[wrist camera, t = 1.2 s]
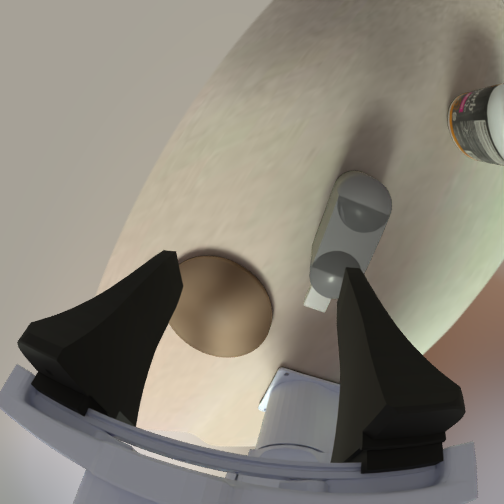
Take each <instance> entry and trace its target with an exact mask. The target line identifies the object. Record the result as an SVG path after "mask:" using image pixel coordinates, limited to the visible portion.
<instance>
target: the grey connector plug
mask: <svg viewBox="0 0 504 504" xmlns="http://www.w3.org/2000/svg"><path fill="white" fill-rule="evenodd" d="M391 210H392V200H391V196H390V194H389V192H388V190H387V188H386V187H385V186H384V185H383V184H382V183H381V182H379V181H378V180H376V179H374V178H373V177H371V176H369V175H367V174H365V173H363V172H361V171H348V172H346V173H344V174H342V175H341V176H340V177H339V178H338V179H337V181H336V182H335V185H334V188H333V190H332V193H331V196H330V199H329V202H328V204H327V207H326V210H325V213H324V215H323V218H322V221H321V223H320V226H319V229H318V231H317V234H316V237H315V239H314V242H313V245H312V254H311V265H310V282H311V285H310V288H309V290H308V292H307V294H306V297H305V299H304V306H307V307H310V308H312V309H315V310H318V311H321V312H324V313H325V311H326V309H327V307H328V305H329V303H330V301H331V299H338V298H339V294H340V290H341V285H342V281H343V277H344V272H345V268H346V267H351V268H360V269H361V270H362V272H363V274H364V273H365V271H366V269H367V267H368V265H369V263H370V261H371V258H372V256H373V254H374V252H375V250H376V247H377V245H378V243H379V240H380V238H381V236H382V234H383V231H384V229H385V226H386V224H387V222H388V219H389V217H390V214H391Z"/></svg>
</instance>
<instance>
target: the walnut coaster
mask: <svg viewBox="0 0 504 504" xmlns="http://www.w3.org/2000/svg"><path fill="white" fill-rule="evenodd" d="M179 268H180V273H181V277H182V282H183V286H184V287H183V290H182V293H181V296H180V299H179V302H178V304H177V307H176V309H175V311H174V313H173V315H172V317H171V319H170V321H169V324H170V326H171V327H172V329H173V330H174V331H175V332H176V334H177V335H178V336H179V337H180V338H181V339H182V340H184V341H185V342H186V343H187V344H189V345H190V346H192V347H193V348H195V349H197V350H199V351H201V352H203V353H206V354H209V355H212V356H217V357H238V356H242V355H245V354H248V353H250V352H252V351H254V350H255V349H256V348H258V347H259V346H260V345H261V344H262V343H263V341H264V340H265V338H266V337H267V335H268V332H269V329H270V326H271V322H272V307H271V302H270V299H269V296H268V294H267V292H266V290H265V288H264V287H263V285H262V284H261V283H260V281H259V280H258V279H257V278H256V277H255V276H254V275H253V274H252V273H251V272H250V271H248V270H247V269H246V268H244V267H243V266H241V265H239V264H238V263H236V262H233V261H231V260H229V259H225V258H222V257H217V256H198V257H194V258H191V259H188V260H186V261H184V262H183V263H181V264H180V265H179Z"/></svg>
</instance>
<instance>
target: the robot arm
mask: <svg viewBox="0 0 504 504" xmlns="http://www.w3.org/2000/svg"><path fill="white" fill-rule="evenodd" d="M183 287H184V286H183V282H182V277H181V273H180V268H179V264H178V259H177V254H176V251H166V250H163V251H162V252H160V253H159V254H157V255H156V256H154V257H153V258H152V259H150V260H149V261H148V262H146V263H145V264H143V265H142V266H141V267H139V268H138V269H137V270H135V271H134V272H133V273H131V274H130V275H128V276H127V277H125V278H124V279H123V280H121V281H120V282H118V283H117V284H115V285H114V286H112V287H111V288H109V289H108V290H106V291H104V292H103V293H101V294H99V295H98V296H96V297H94V298H92V299H90V300H89V301H86V302H84V303H82V304H80V305H78V306H76V307H74V308H72V309H70V310H67V311H65V312H62V313H60V314H57V315H54V316H51V317H48V318H45V319H42V320H38V321H35V322H31V323H30V325H29V326H28V327H27V329H26V330H25V332H24V333H23V335H22V336H21V338H20V339H19V340H18V342H17V343H18V347H19V349H20V350H21V352H22V353H23V354H24V356H25V357H26V358H27V359H28V361H29V362H30V363H31V364H32V365H33V366H34V367H35V369H36V370H37V371H38V373H37V374H36V376H35V375H33V374H32V373H31V372H30V371H28V370H26V369H25V368H23V367H21V366H20V365H16V366H15V368H14V370H13V371H12V373H11V374H10V376H9V378H8V379H7V381H6V383H5V384H4V386H3V388H2V390H1V391H0V409H1V410H3V411H4V412H5V413H6V414H7V415H8V416H10V417H11V418H12V419H13V420H15V421H16V422H17V423H18V424H19V425H21V426H22V427H23V428H24V429H26V430H27V431H28V432H30V433H31V434H32V435H34V436H35V437H36V438H38V439H39V440H41V441H42V442H43V443H45V444H46V445H48V446H49V447H51V448H52V449H54V450H55V451H57V452H58V453H60V454H62V455H63V456H65V457H67V458H68V459H70V460H71V461H73V462H75V463H76V464H78V465H80V466H82V467H83V468H85V469H86V471H85V474H84V476H83V479H82V481H81V484H80V486H79V489H78V492H77V494H76V497H75V500H74V502H73V504H465V503H468V502H471V501H473V500H476V499H477V498H478V485H477V467H476V457H475V456H476V455H475V447H474V442H468V443H464V444H460V445H455V446H451V447H447V448H445V449H443V447H442V442H444V441H445V440H446V435H445V431H447V430H448V429H449V428H451V427H452V426H453V425H454V424H456V423H457V422H458V421H459V420H460V419H461V418H462V417H463V415H464V414H465V405H464V400H463V395H462V391H461V388H460V387H459V386H458V385H457V384H456V383H454V382H453V381H452V380H450V379H449V378H448V377H446V376H445V375H444V374H443V373H441V372H440V371H439V370H438V369H437V368H436V367H434V366H433V365H432V364H431V363H430V362H429V361H428V360H427V359H426V358H425V357H424V356H423V355H422V354H421V353H420V352H419V351H418V350H417V349H416V348H415V347H414V346H413V345H412V344H411V343H410V341H409V340H408V339H407V338H406V337H405V336H404V334H403V333H402V332H401V331H400V329H399V328H398V327H397V326H396V324H395V323H394V321H393V320H392V319H391V317H390V316H389V314H388V313H387V311H386V310H385V308H384V307H383V305H382V304H381V302H380V301H379V299H378V297H377V296H376V294H375V293H374V291H373V289H372V287H371V286H370V284H369V282H368V281H367V279H366V277H365V275H364V274H363V272H362V270H361V269H360V268H351V267H346V268H345V272H344V277H343V281H342V285H341V290H340V294H339V298H338V302H337V333H338V345H339V358H340V384H337V383H333V382H329V381H326V380H322V379H319V378H316V377H312V376H309V375H306V374H302V373H299V372H296V371H293V370H290V369H286V368H283V367H282V368H279V369H278V371H277V373H276V375H275V377H274V378H273V380H272V382H271V384H270V386H269V388H268V390H267V392H266V393H265V395H264V397H263V399H262V401H261V403H260V404H259V407H258V409H259V410H261V411H263V412H265V415H264V418H263V422H262V426H261V430H260V433H259V437H258V441H257V444H256V448H255V449H250V450H249V453H248V456H247V455H240V454H235V453H229V452H224V451H219V450H215V449H210V448H206V447H201V446H197V445H193V444H189V443H185V442H182V441H178V440H174V439H171V438H168V437H164V436H161V435H158V434H154V433H152V432H149V431H146V430H143V429H140V428H137V427H136V423H137V417H138V412H139V406H140V401H141V397H142V393H143V389H144V385H145V381H146V378H147V375H148V371H149V368H150V365H151V362H152V359H153V356H154V353H155V351H156V348H157V346H158V344H159V341H160V339H161V337H162V335H163V333H164V331H165V329H166V327H167V325H168V323H169V321H170V319H171V317H172V315H173V313H174V311H175V309H176V307H177V304H178V302H179V299H180V296H181V293H182V290H183ZM286 373H289V374H286ZM120 440H121V441H120ZM122 441H123V442H122ZM124 442H126V443H128V444H131V445H133V446H136V447H139V448H141V449H144V450H147V451H150V452H153V453H156V454H159V455H162V456H165V457H168V458H171V459H175V460H178V461H182V462H185V463H189V464H193V465H197V466H201V467H205V468H210V469H214V470H218V471H223V472H227V474H226V477H225V478H222V477H218V476H214V475H210V474H206V473H202V472H198V471H195V470H191V469H187V468H184V467H181V466H177V465H173V464H170V463H167V462H164V461H161V460H157V459H154V458H151V457H148V456H145V455H142V454H140V453H138V452H137V451H135V450H134V449H133V448H132V446H130V445H128V444H126V443H124Z"/></svg>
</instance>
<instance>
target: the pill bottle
mask: <svg viewBox="0 0 504 504" xmlns="http://www.w3.org/2000/svg"><path fill="white" fill-rule="evenodd" d="M448 127H449V131H450V134H451V137H452V139H453V141H454V143H455V145H456V146H457V147H458V149H459V150H460V151H461V152H462V153H463V154H464V155H466V156H467V157H469V158H471V159H474V160H477V161H482V162H487V163H492V164H497V165H503V166H504V83H503V84H498V85H494V86H491V87H487V88H483V89H479V90H476V91H472V92H468V93H465V94H462V95H460V96H458V97H457V98H456V99H455V100H454V101H453V102H452V104H451V106H450V108H449V112H448Z"/></svg>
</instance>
